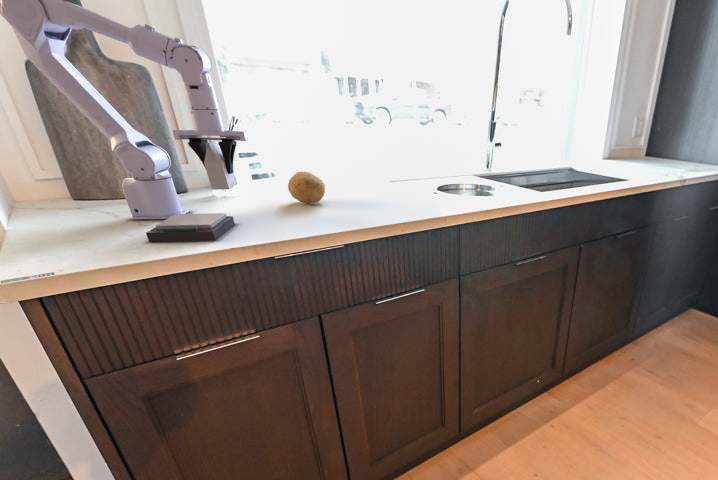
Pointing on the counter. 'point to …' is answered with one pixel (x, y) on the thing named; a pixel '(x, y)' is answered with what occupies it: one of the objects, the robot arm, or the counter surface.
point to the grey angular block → (217, 168)
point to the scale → (191, 228)
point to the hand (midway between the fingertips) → (221, 173)
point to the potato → (306, 187)
